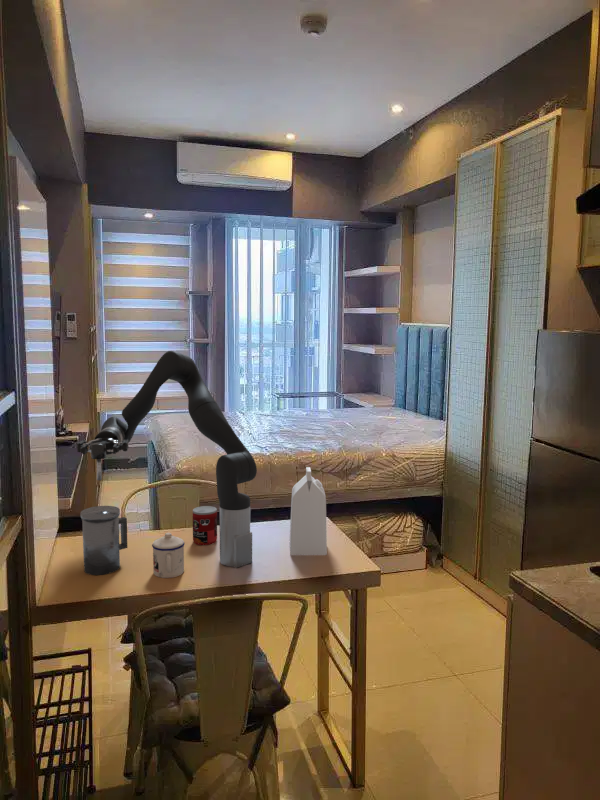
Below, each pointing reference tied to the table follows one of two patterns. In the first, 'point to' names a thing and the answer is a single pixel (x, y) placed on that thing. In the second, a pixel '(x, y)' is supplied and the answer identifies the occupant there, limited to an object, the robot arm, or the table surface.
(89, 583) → the table surface
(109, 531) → the press carafe
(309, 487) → the milk
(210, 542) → the canned food
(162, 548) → the teacup with lid
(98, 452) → the plunger
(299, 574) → the table surface
